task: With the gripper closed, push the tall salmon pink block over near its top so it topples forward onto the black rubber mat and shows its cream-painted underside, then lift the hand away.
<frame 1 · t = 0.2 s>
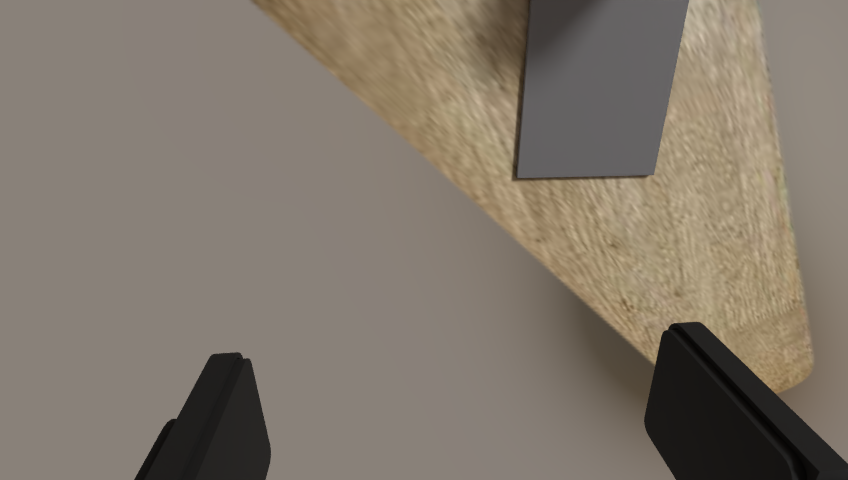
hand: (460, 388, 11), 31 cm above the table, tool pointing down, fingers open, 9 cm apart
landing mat: (597, 78, 39), on the table
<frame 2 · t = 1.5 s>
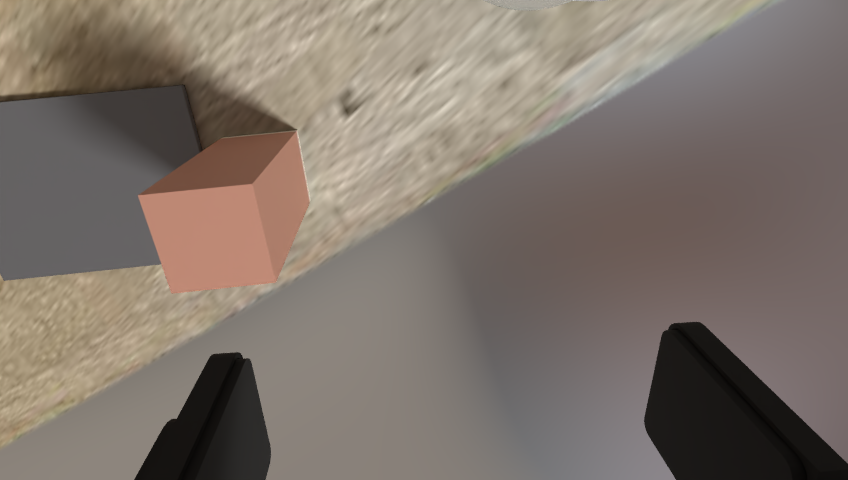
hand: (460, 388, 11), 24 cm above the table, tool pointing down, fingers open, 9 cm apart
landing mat: (90, 187, 33), on the table
salmon pink block: (267, 169, 33), on the table
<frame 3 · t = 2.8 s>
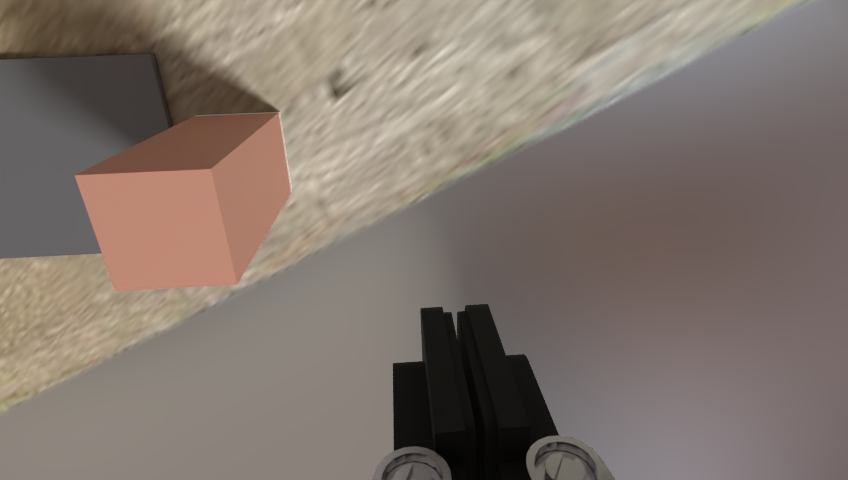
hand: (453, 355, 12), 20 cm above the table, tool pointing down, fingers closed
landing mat: (47, 163, 29), on the table
salmon pink block: (245, 154, 30), on the table
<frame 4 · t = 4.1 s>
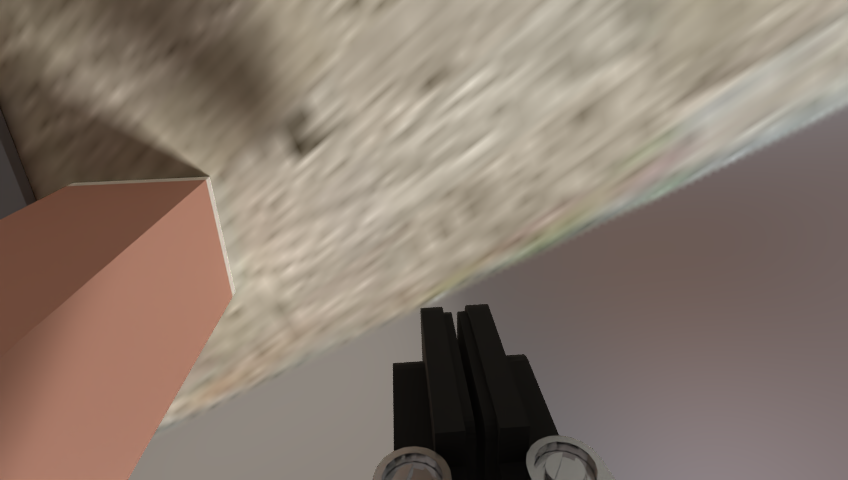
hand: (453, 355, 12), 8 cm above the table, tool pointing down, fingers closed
salmon pink block: (158, 240, 19), on the table
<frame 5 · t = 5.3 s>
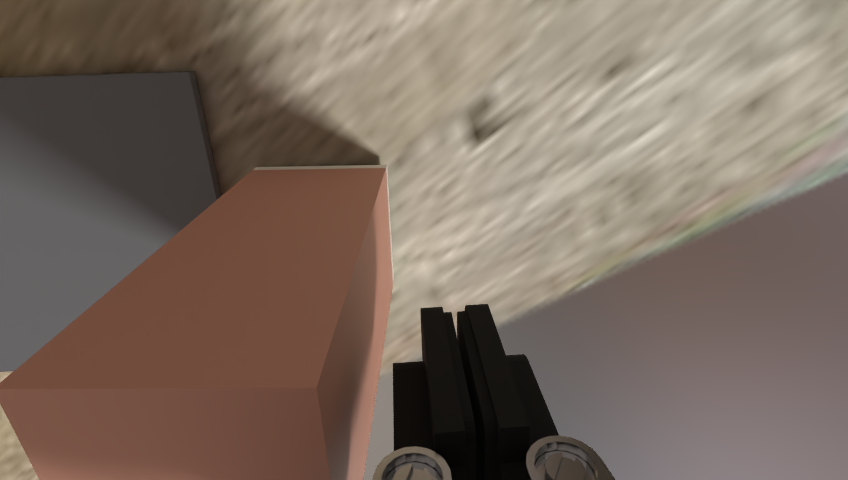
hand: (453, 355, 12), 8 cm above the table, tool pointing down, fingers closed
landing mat: (21, 238, 19), on the table
salmon pink block: (328, 226, 19), on the table
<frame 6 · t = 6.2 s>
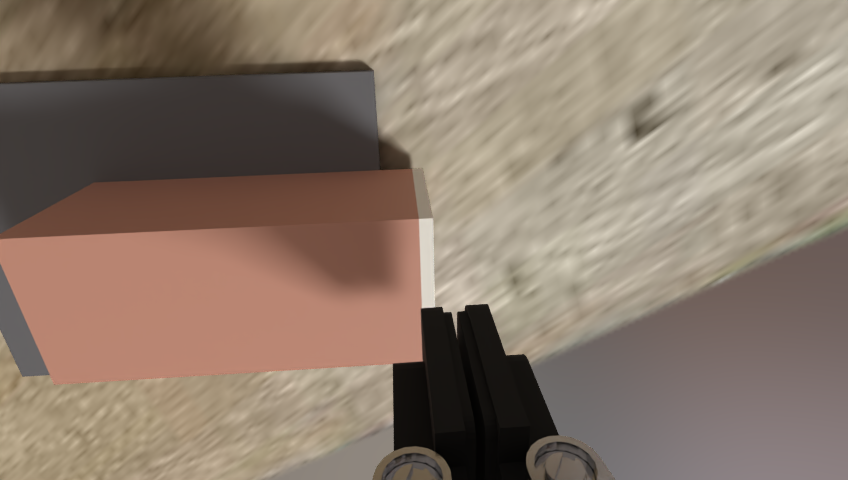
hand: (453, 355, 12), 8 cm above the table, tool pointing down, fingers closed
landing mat: (182, 236, 19), on the table
salmon pink block: (428, 257, 17), point 3 cm above the table, tilted 90°, touching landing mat
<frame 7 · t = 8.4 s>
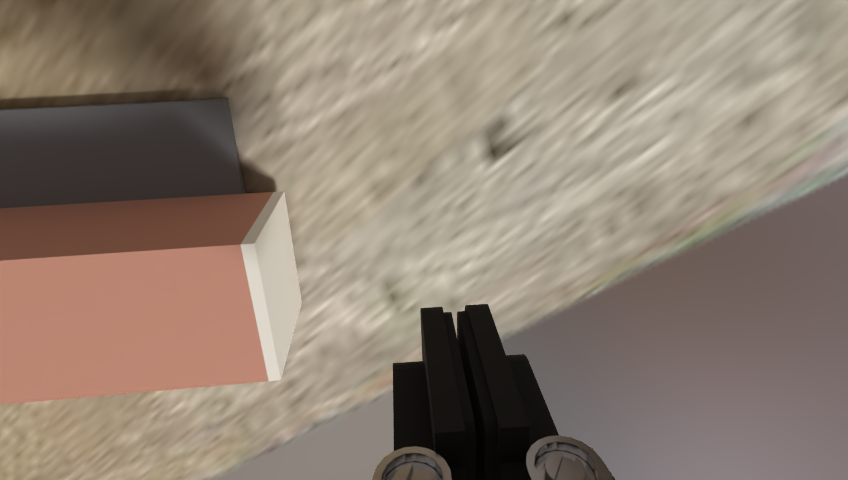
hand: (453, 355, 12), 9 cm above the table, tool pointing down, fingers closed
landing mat: (53, 261, 19), on the table
salmon pink block: (282, 278, 17), point 3 cm above the table, tilted 90°, touching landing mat
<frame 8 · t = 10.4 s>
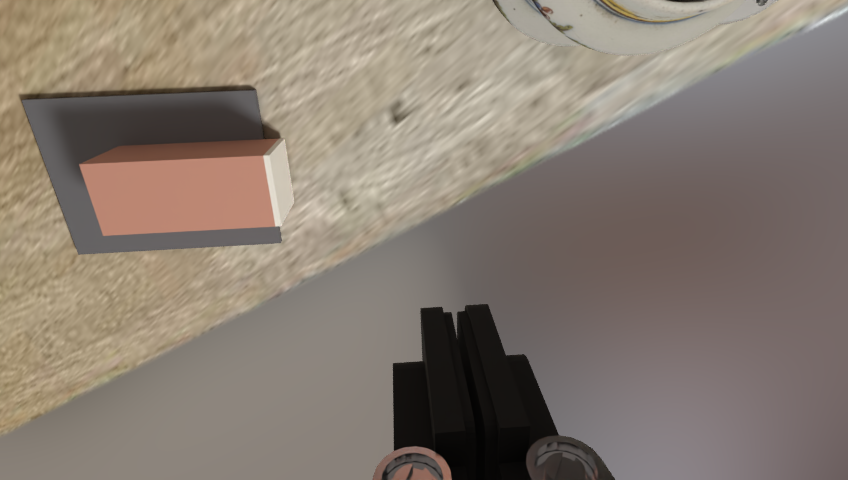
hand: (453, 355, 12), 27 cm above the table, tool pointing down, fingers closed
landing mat: (164, 175, 37), on the table
salmon pink block: (283, 180, 35), point 3 cm above the table, tilted 90°, touching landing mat
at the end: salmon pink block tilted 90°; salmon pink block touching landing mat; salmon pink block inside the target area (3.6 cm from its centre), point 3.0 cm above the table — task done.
